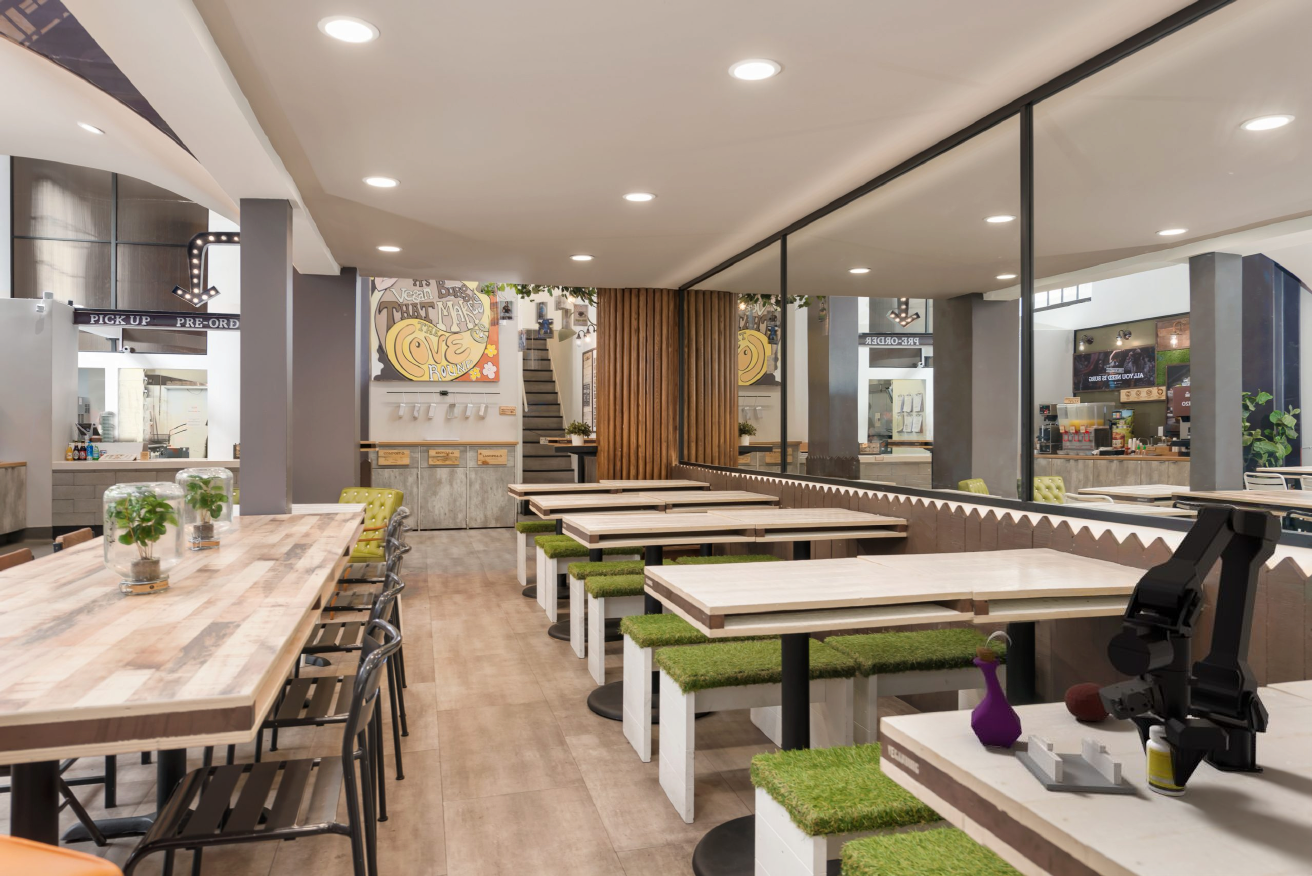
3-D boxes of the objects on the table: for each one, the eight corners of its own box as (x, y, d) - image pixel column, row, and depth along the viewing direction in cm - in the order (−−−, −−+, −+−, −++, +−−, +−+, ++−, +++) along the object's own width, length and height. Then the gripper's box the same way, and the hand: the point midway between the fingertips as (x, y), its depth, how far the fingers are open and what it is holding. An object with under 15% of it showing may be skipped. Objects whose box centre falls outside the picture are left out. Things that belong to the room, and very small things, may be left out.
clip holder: (1095, 760, 124) (1096, 728, 124) (1135, 793, 112) (1136, 759, 112) (1015, 756, 125) (1015, 725, 125) (1046, 789, 113) (1047, 755, 113)
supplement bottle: (1191, 798, 111) (1192, 737, 111) (1153, 795, 112) (1154, 734, 112) (1176, 784, 116) (1177, 725, 116) (1140, 781, 117) (1141, 722, 117)
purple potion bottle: (970, 746, 129) (971, 634, 129) (971, 731, 136) (972, 624, 136) (1021, 754, 127) (1023, 639, 127) (1019, 738, 133) (1021, 629, 134)
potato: (1054, 717, 144) (1054, 683, 144) (1084, 707, 150) (1085, 674, 150) (1095, 730, 138) (1095, 693, 138) (1125, 719, 144) (1126, 684, 144)
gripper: (1078, 647, 124) (1077, 749, 124) (1142, 683, 105) (1140, 803, 105) (1154, 649, 123) (1152, 752, 123) (1231, 686, 105) (1230, 807, 105)
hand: (1165, 776), depth 114 cm, fingers open, 6 cm apart
